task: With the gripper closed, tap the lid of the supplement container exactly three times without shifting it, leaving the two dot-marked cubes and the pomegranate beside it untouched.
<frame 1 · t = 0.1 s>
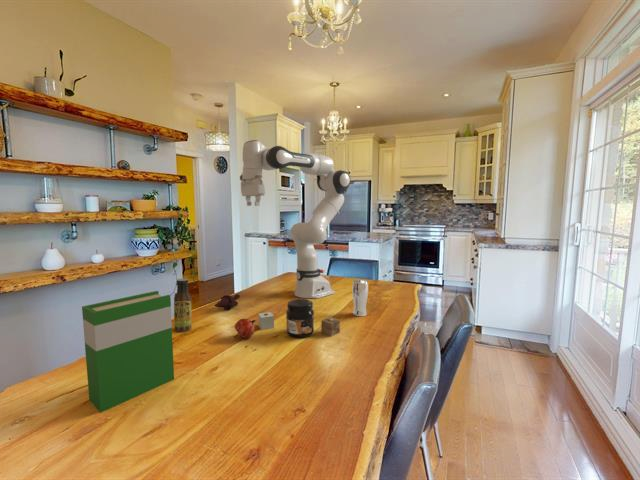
hand: (253, 205, 147), 48 cm above the table, tool pointing down, fingers open, 8 cm apart
sauce bottle: (183, 330, 121), on the table
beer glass: (359, 314, 140), on the table
supplement container: (300, 333, 119), on the table
sage cube: (266, 326, 125), on the table
pomegranate: (244, 338, 115), on the table
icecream: (227, 309, 145), on the table
hardback book: (134, 390, 82), on the table
walnut cube: (330, 332, 120), on the table
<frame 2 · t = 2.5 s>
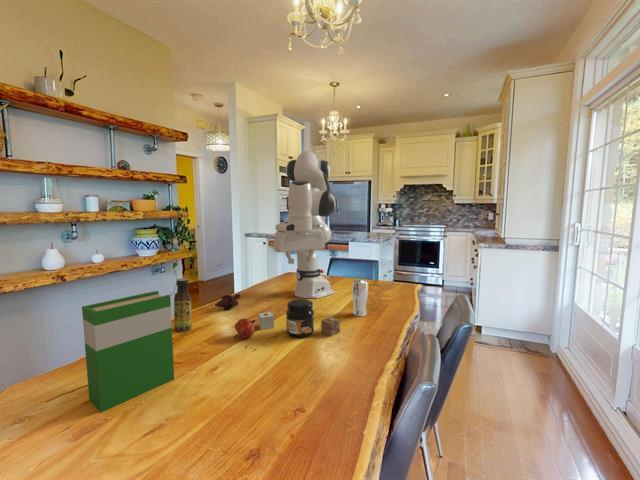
hand: (300, 262, 116), 27 cm above the table, tool pointing down, fingers open, 6 cm apart
nothing on the table moved.
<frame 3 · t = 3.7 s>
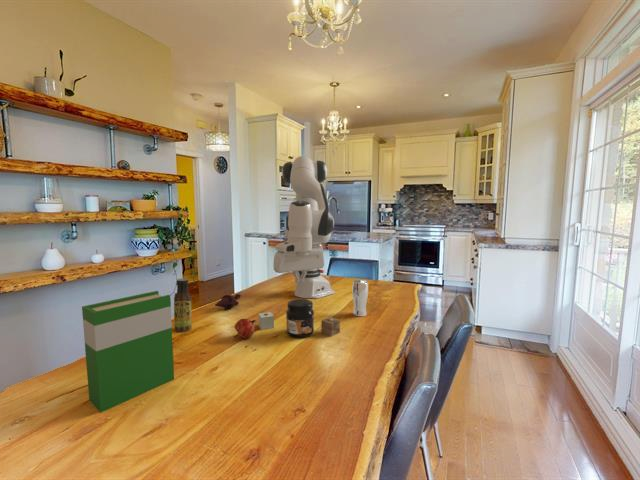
hand: (299, 282, 117), 20 cm above the table, tool pointing down, fingers closed
nothing on the table moved.
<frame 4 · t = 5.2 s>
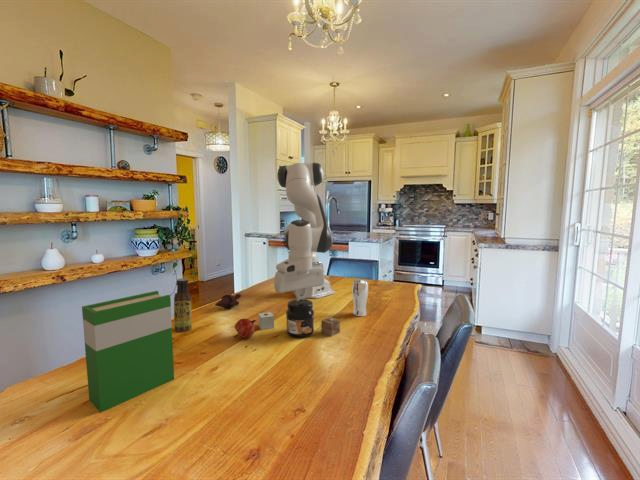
hand: (300, 300, 118), 13 cm above the table, tool pointing down, fingers closed
nothing on the table moved.
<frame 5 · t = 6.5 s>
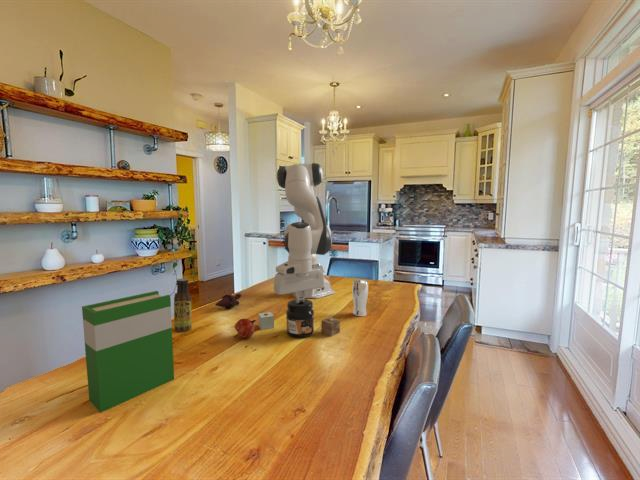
hand: (300, 302, 118), 12 cm above the table, tool pointing down, fingers closed, pressing on supplement container
supplement container: (300, 333, 119), on the table, touching gripper
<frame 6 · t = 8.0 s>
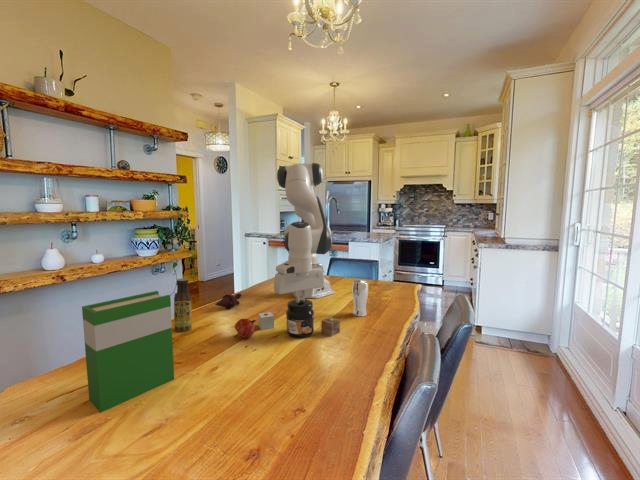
hand: (300, 301, 118), 12 cm above the table, tool pointing down, fingers closed
supplement container: (300, 333, 119), on the table
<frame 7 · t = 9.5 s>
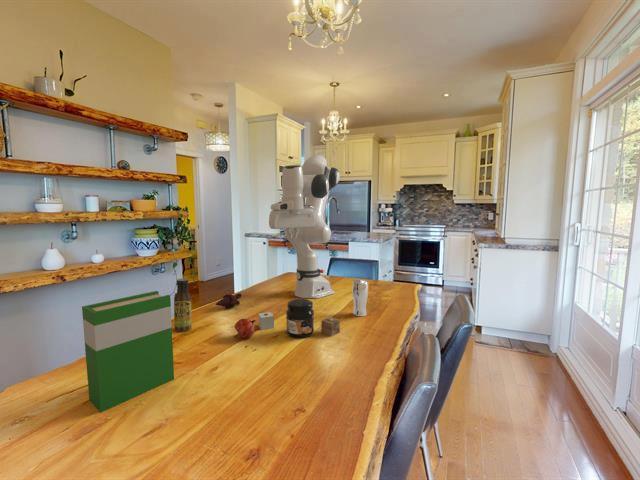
hand: (293, 239, 129), 34 cm above the table, tool pointing down, fingers closed
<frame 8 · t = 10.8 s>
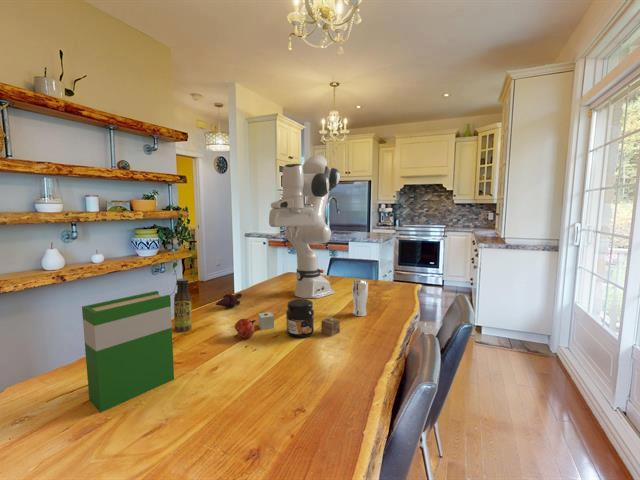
hand: (293, 237, 129), 35 cm above the table, tool pointing down, fingers closed
at the end: supplement container moved 0.3 cm from its start; supplement container tilted 0°; sage cube moved 0.1 cm from its start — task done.
